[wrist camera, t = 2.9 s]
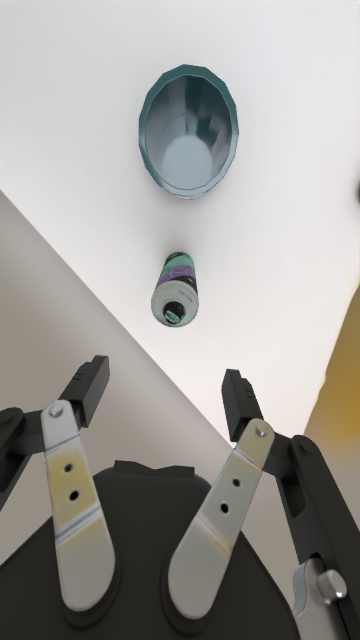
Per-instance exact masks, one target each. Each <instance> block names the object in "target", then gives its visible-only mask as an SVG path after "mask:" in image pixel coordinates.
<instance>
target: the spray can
mask: <svg viewBox="0 0 360 640" xmlns="http://www.w3.org/2000/svg"><path fill="white" fill-rule="evenodd" d="M198 306H199V300H198V292H197V285H196V277H195V269H194V263H193V260H192V259H191V257H190V256H189V255H188V254H186V253H183V252H175V253H173V254H171V255H170V256H169V257H168V258H167V260H166V262H165V264H164V267H163V270H162V272H161V275H160V277H159V280H158V283H157V285H156V288H155V290H154V293H153V296H152V299H151V309H152V313H153V315H154V317H155V318H156V319H157V320H158V321H159V322H160V323H162V324H163V325H165V326H168V327H182V326H185V325H187V324H189V323H190V322H191V321H192V320H193V319H194V318H195V316H196V314H197V312H198Z"/></svg>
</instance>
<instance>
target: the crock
mask: <svg viewBox="0 0 360 640" xmlns="http://www.w3.org/2000/svg"><path fill="white" fill-rule="evenodd" d="M238 135H239V129H238V120H237V111H236V105H235V103H234V101H233V99H232V97H231V95H230V93H229V90H228V88H227V86H226V84H225V83H224V82H223V81H222V80H221V79H220V78H218V77H217V76H216V75H215V74H213V73H212V72H211V71H210V70H209V69H207V68H206V67H200V66H193V65H186V64H183V65H181V66H179V67H177V68H174V69H172V70H170V71H168V72H166V73H163V74H162V76H161V77H160V78H159V79H158V81H157V82H156V83H155V84H154V85H153V87H152V88H151V89H150V90H149V92H148V93H147V96H146V99H145V102H144V105H143V108H142V111H141V114H140V117H139V147H140V150H141V154H142V157H143V160H144V164H145V167H146V169H147V170H148V172H149V173H150V174H151V176H152V177H153V179H154V180H155V181H156V183H157V184H158V185H159V186H160V187H161V188H163V189H164V190H165V191H167V192H168V193H170V194H172V195H173V196H175V197H176V198H182V199H193V198H196V197H199V196H202V195H204V194H205V193H206V192H208V191H209V190H210V189H211V188H212V187H214V186H215V185H216V184H217V183H218V182H219V181H220V180H221V179H222V178H223V177H224V175H225V174H226V172H227V170H228V168H229V166H230V164H231V162H232V161H233V159H234V156H235V151H236V145H237V140H238Z"/></svg>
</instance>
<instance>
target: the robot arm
mask: <svg viewBox="0 0 360 640" xmlns="http://www.w3.org/2000/svg"><path fill="white" fill-rule="evenodd" d="M109 376H110V371H109V359H108V356H102V355H96V356H95V357H94V358H93V360H92V362H86V363H84V364H83V365H82V366H80V367H79V369H78V370H77V372H76V374H75V375H74V376H73V378H72V380H71V381H70V382H69V384H68V385H67V387H66V388H65V390H64V391H63V393H62V394H61V396H60V398H59V399H58V400H57V401H54V402H52V403H50V404H48V405H47V406H46V407H45V408H44V409H43V410H39V411H34V412H28V413H23V411H22V410H21V409H20V408H16V407H13V408H7V409H5V410H2V411H0V511H1V509H2V508H3V506H4V504H5V502H6V501H7V499H8V497H9V495H10V493H11V492H12V490H13V488H14V486H15V485H16V483H17V481H18V479H19V477H20V476H21V474H22V472H23V470H24V469H25V466H26V465H27V463H28V461H29V460H30V458H31V456H32V454H35V453H40V452H44V456H45V464H46V471H47V479H48V486H49V493H50V500H51V507H52V516H51V517H50V518H49V519H48V520H47V521H46V522H45V523H44V524H43V525H42V526H41V527H40V528H39V529H38V530H37V531H36V532H35V533H33V534H32V535H31V537H29V538H28V539H27V540H26V541H25V542H24V543H23V544H22V545H21V546H20V547H19V548H18V549H17V550H16V551H15V552H14V553H13V554H12V555H11V556H10V557H9V558H8V559H7V560H6V561H5V562H4V563H3V564H1V566H0V640H360V531H359V529H358V527H357V525H356V523H355V521H354V519H353V517H352V515H351V513H350V511H349V509H348V507H347V505H346V503H345V501H344V499H343V497H342V495H341V493H340V491H339V488H338V487H337V485H336V483H335V480H334V479H333V477H332V474H331V472H330V470H329V468H328V466H327V464H326V462H325V460H324V458H323V456H322V454H321V452H320V450H319V448H318V447H317V445H316V444H315V443H314V442H313V441H312V440H310V439H309V438H307V437H305V436H303V435H295V436H293V437H292V439H291V438H288V437H286V436H283V435H281V434H278V433H276V432H275V431H274V430H273V429H272V427H271V426H270V425H269V424H268V423H267V422H266V421H264V418H263V416H262V413H261V410H260V407H259V405H258V402H257V399H256V396H255V394H254V391H253V388H252V385H251V384H250V383H249V381H248V380H247V379H246V378H241V375H240V372H239V370H234V369H227V370H226V373H225V376H224V380H223V383H222V389H221V391H222V398H223V404H224V409H225V414H226V420H227V425H228V430H229V436H230V441H231V442H237V445H236V446H235V448H234V449H233V450H232V452H231V454H230V456H229V457H228V459H227V461H226V463H225V465H224V466H223V468H222V470H221V472H220V473H219V475H218V477H217V479H216V480H215V483H214V484H213V486H211V485H210V484H209V483H208V482H207V481H206V480H205V479H203V478H202V477H200V476H199V475H196V474H195V472H194V467H187V466H170V467H165V468H161V469H156V470H155V469H151V468H149V467H146V466H144V465H141V464H139V463H137V462H131V461H119V460H115V464H114V467H111V468H107V469H105V470H103V471H101V472H99V473H97V474H96V475H94V476H93V477H92V474H91V470H90V467H89V464H88V460H87V457H86V453H85V450H84V447H83V443H82V439H81V436H80V434H79V431H80V429H81V427H84V428H88V426H89V424H90V421H91V419H92V417H93V414H94V412H95V410H96V408H97V405H98V404H99V401H100V399H101V397H102V395H103V392H104V390H105V388H106V386H107V383H108V381H109ZM263 471H265V472H267V473H269V474H271V475H274V476H275V478H276V482H277V485H278V489H279V492H280V496H281V500H282V503H283V507H284V510H285V514H286V518H287V521H288V525H289V528H290V532H291V535H292V539H293V543H294V546H295V550H296V553H297V557H298V561H299V564H300V566H298V567H297V568H296V569H295V571H294V574H293V588H294V596H295V602H294V608H293V610H292V611H291V609H290V606H289V604H288V602H287V601H286V599H285V597H284V595H283V594H282V592H281V590H280V589H279V587H278V586H277V584H276V583H275V581H274V580H273V578H272V577H271V575H270V574H269V572H268V571H267V569H266V567H265V566H264V565H263V563H262V561H261V560H260V558H259V557H258V555H257V554H256V552H255V551H254V549H253V548H252V546H251V545H250V543H249V541H248V540H247V539H246V537H245V535H244V534H243V532H242V531H241V527H242V524H243V521H244V519H245V516H246V514H247V511H248V509H249V506H250V503H251V501H252V498H253V495H254V493H255V490H256V488H257V485H258V483H259V480H260V478H261V475H262V472H263Z"/></svg>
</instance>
